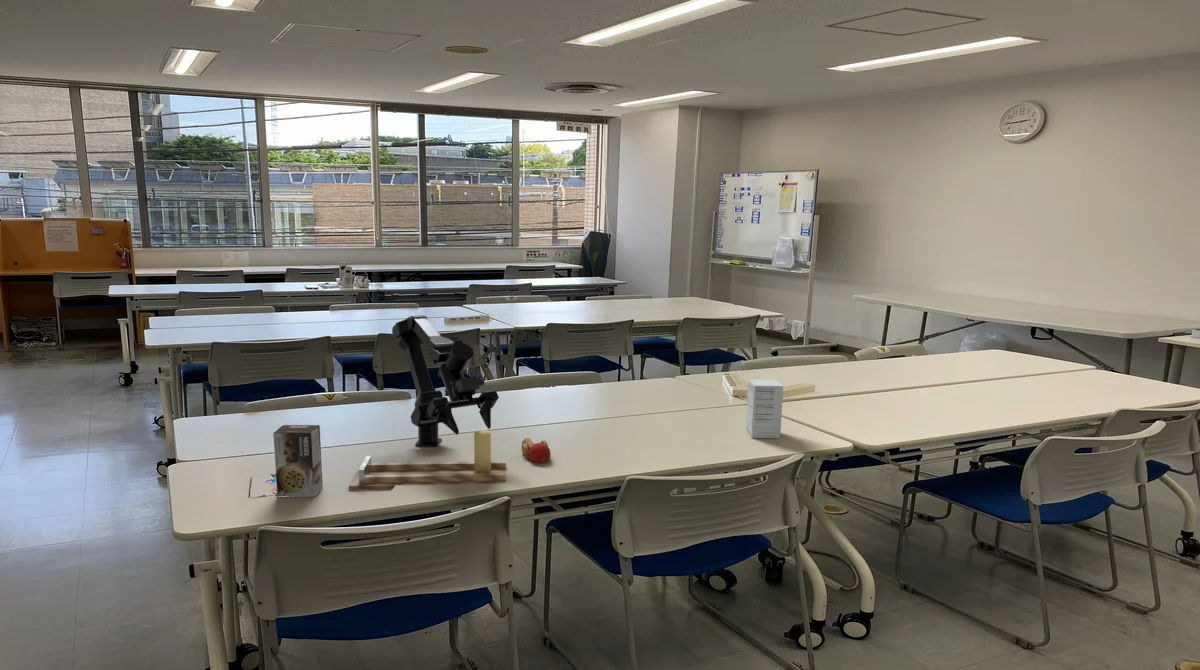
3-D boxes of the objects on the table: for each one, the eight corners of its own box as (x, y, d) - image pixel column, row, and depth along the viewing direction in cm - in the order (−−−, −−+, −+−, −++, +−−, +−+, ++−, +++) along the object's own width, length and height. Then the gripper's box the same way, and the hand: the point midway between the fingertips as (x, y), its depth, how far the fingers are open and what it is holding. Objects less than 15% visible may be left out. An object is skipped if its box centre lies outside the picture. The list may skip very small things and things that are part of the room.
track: (505, 467, 202) (505, 458, 202) (505, 486, 188) (505, 477, 188) (360, 470, 198) (359, 461, 197) (348, 489, 184) (348, 480, 184)
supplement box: (780, 439, 234) (784, 386, 231) (751, 438, 234) (754, 385, 231) (773, 430, 243) (776, 379, 240) (745, 429, 243) (748, 378, 240)
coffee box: (323, 487, 185) (321, 424, 182) (314, 497, 179) (312, 432, 176) (286, 487, 185) (283, 423, 182) (275, 497, 178) (272, 431, 175)
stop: (371, 468, 196) (371, 455, 195) (364, 483, 186) (363, 469, 185) (366, 468, 196) (366, 455, 195) (359, 483, 186) (358, 469, 185)
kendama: (511, 453, 218) (526, 465, 201) (514, 431, 219) (529, 442, 202) (536, 456, 221) (553, 468, 204) (540, 434, 221) (557, 444, 204)
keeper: (475, 470, 196) (475, 430, 195) (491, 471, 197) (491, 430, 195) (473, 476, 192) (473, 434, 190) (489, 476, 192) (489, 435, 191)
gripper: (430, 368, 192) (450, 420, 185) (495, 360, 203) (516, 409, 196) (419, 392, 200) (437, 442, 193) (481, 383, 211) (501, 431, 204)
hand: (473, 430), depth 196 cm, fingers open, 9 cm apart
